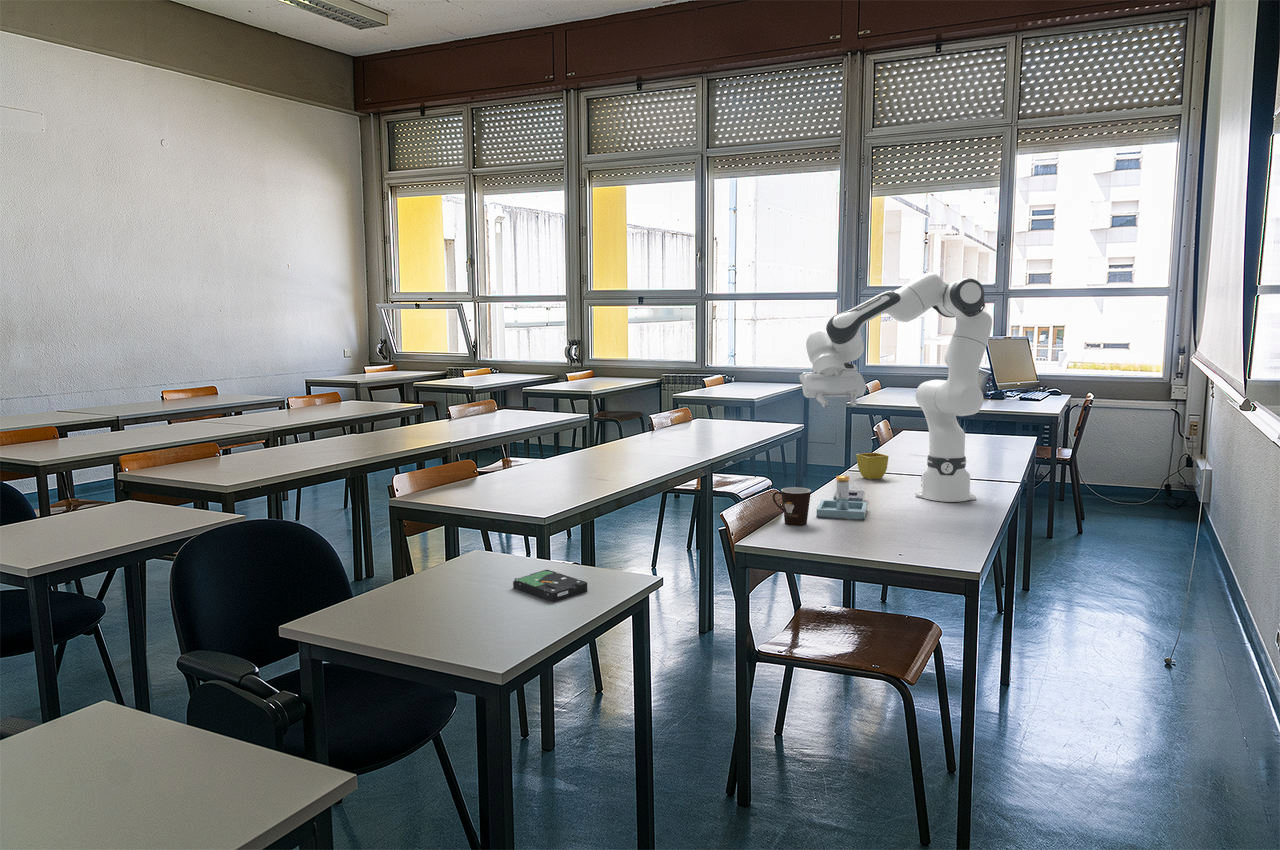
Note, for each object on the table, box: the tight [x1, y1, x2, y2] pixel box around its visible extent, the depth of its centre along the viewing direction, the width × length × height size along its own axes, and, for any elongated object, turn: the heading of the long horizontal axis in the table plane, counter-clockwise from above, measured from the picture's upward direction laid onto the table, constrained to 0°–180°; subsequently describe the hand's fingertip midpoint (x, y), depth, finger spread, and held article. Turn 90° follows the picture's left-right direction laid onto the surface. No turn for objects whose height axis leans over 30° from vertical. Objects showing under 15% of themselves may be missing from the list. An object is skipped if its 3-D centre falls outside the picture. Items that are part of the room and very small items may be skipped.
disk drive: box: [512, 569, 589, 603], centre depth 192 cm, size 10×3×15 cm
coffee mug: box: [772, 487, 812, 527], centre depth 251 cm, size 12×9×10 cm
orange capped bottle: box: [835, 475, 850, 510], centre depth 261 cm, size 4×4×11 cm
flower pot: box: [855, 452, 889, 480], centre depth 317 cm, size 9×9×9 cm
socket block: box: [833, 489, 866, 502], centre depth 276 cm, size 12×9×3 cm
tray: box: [816, 499, 868, 520], centre depth 261 cm, size 14×14×2 cm
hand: (840, 405), depth 266 cm, fingers open, 8 cm apart
